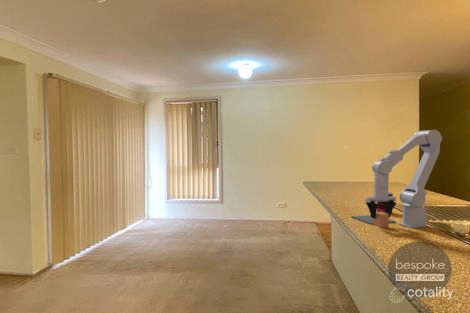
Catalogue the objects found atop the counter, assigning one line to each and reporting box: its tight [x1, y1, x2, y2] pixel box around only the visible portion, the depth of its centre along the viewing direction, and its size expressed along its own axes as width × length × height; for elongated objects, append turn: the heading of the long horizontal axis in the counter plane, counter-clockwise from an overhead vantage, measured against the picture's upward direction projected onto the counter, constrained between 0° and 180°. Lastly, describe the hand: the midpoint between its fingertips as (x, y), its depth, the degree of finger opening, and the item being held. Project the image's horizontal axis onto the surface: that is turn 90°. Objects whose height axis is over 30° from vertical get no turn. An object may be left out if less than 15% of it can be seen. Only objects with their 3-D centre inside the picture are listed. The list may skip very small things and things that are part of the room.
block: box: [372, 211, 390, 229], centre depth 135 cm, size 4×4×6 cm
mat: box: [351, 214, 397, 225], centre depth 146 cm, size 14×14×1 cm
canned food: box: [376, 191, 394, 214], centre depth 163 cm, size 8×8×11 cm
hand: (380, 217), depth 135 cm, fingers open, 7 cm apart
